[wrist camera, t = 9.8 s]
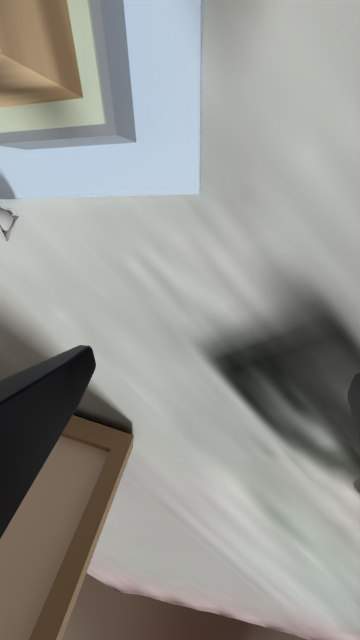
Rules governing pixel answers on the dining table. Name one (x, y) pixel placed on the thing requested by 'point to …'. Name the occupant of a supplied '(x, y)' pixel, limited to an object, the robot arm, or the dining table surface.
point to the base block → (83, 89)
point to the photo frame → (59, 530)
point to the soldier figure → (7, 222)
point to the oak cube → (37, 53)
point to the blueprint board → (149, 115)
